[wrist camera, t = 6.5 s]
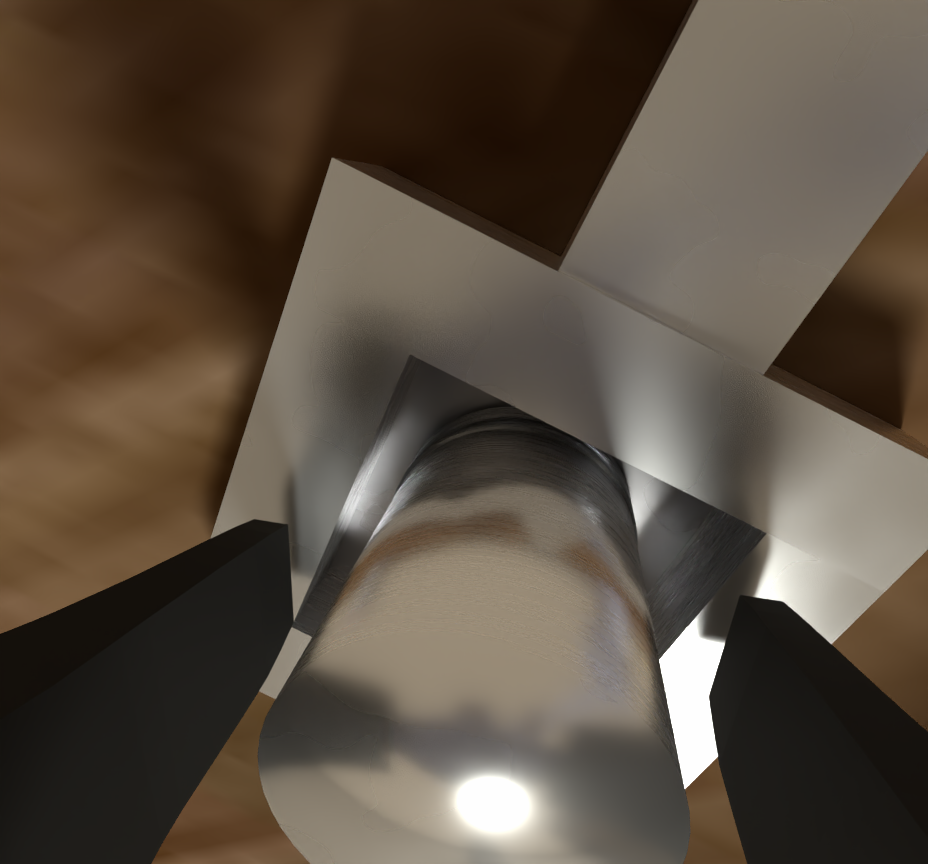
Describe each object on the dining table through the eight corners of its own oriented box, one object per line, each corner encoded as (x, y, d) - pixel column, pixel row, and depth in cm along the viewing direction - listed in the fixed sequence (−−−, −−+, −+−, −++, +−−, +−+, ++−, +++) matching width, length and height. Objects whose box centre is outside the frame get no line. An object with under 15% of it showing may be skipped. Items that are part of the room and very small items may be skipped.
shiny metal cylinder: (648, 417, 10) (742, 673, 5) (615, 621, 12) (656, 985, 6) (401, 397, 11) (227, 600, 5) (404, 593, 13) (274, 901, 7)
